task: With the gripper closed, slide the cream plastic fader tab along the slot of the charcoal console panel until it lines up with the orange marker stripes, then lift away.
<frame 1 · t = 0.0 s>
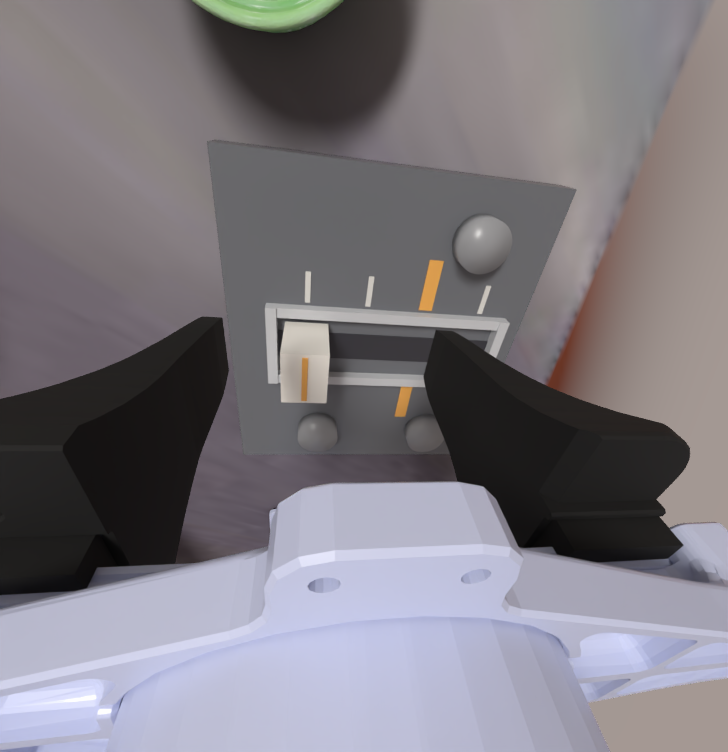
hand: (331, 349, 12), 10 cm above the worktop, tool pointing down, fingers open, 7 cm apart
console panel: (374, 336, 24), on the worktop
fader tab: (305, 362, 20), point 3 cm above the worktop, slide at 0.0 cm
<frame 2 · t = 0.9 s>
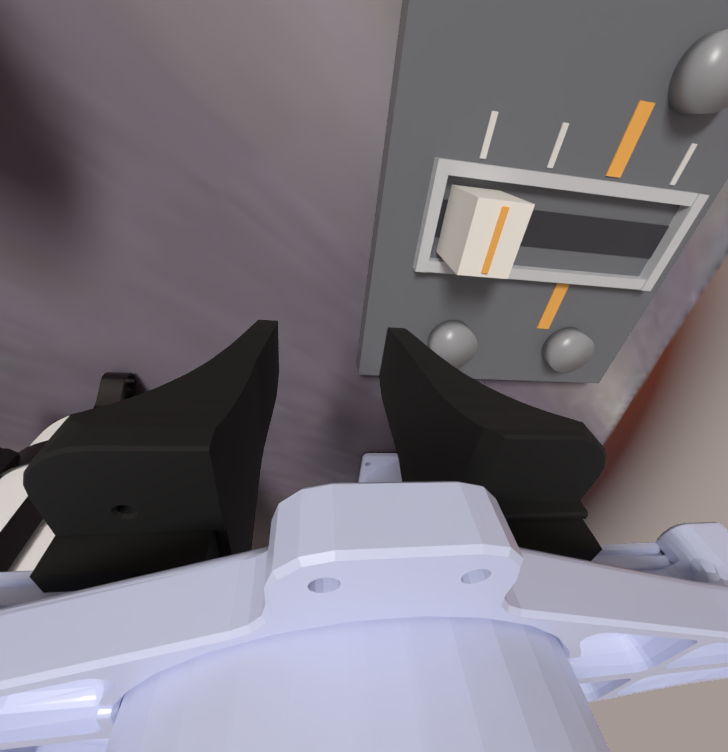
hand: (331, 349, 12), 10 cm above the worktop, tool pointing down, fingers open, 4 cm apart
coffee press: (129, 439, 27), on the worktop
console panel: (530, 223, 20), on the worktop
fader tab: (479, 231, 17), point 3 cm above the worktop, slide at 0.0 cm
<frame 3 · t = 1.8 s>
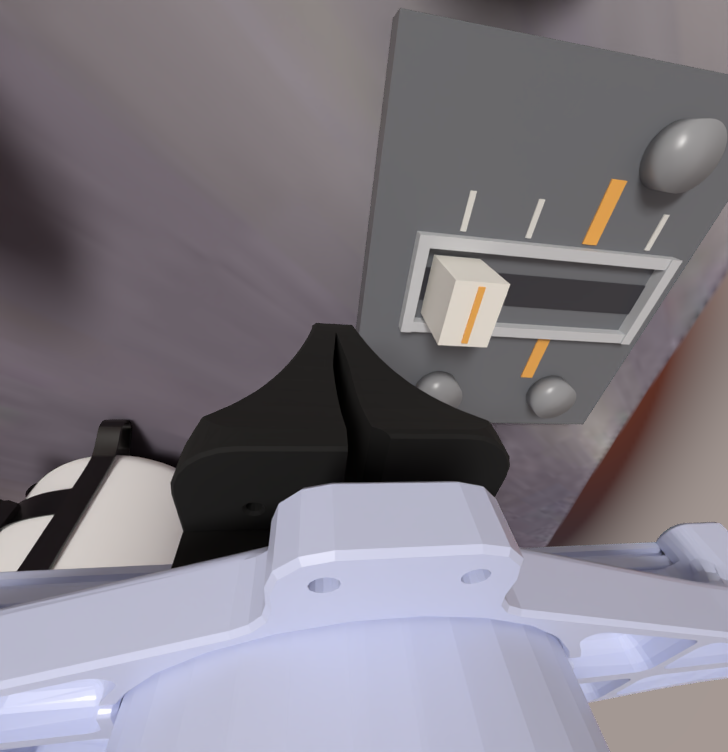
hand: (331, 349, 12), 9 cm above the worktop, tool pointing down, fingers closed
coffee press: (126, 478, 27), on the worktop
console panel: (512, 281, 21), on the worktop
fader tab: (460, 300, 17), point 3 cm above the worktop, slide at 0.0 cm
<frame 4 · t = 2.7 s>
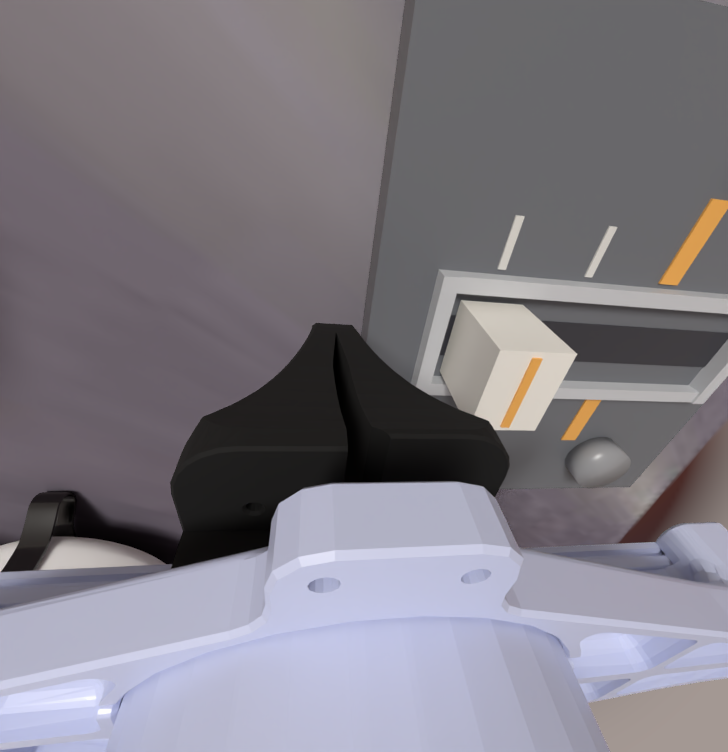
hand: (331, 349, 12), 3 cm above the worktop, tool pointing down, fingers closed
coffee press: (77, 549, 23), on the worktop
console panel: (557, 325, 16), on the worktop
fader tab: (497, 364, 13), point 3 cm above the worktop, slide at 0.0 cm
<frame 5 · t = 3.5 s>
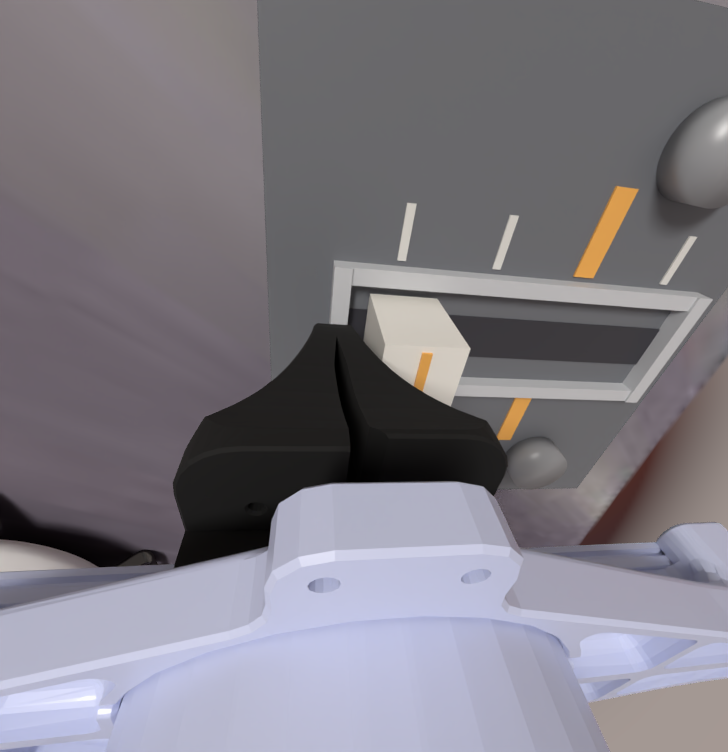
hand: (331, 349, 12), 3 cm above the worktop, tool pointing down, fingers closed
coffee press: (11, 552, 22), on the worktop
console panel: (481, 321, 16), on the worktop
fader tab: (405, 360, 12), point 3 cm above the worktop, slide at 0.3 cm, touching gripper
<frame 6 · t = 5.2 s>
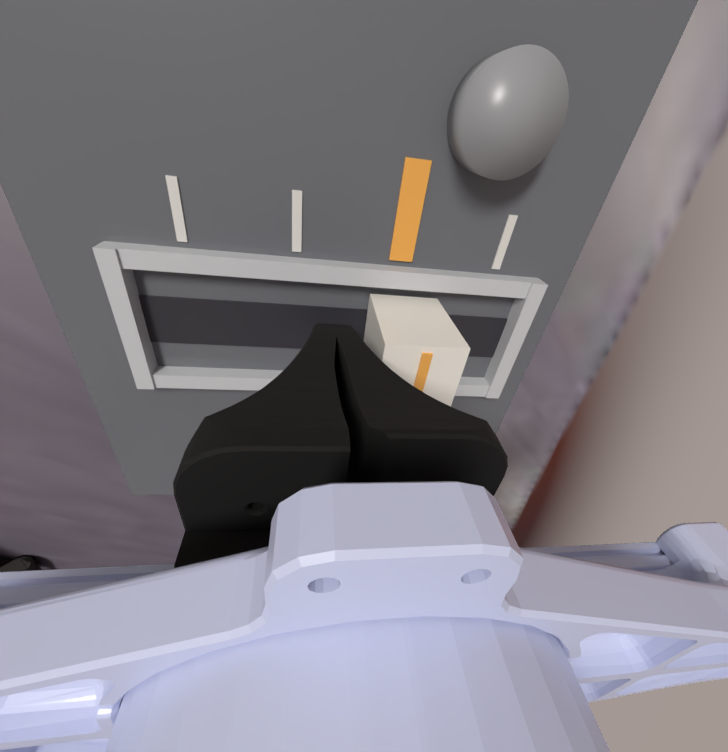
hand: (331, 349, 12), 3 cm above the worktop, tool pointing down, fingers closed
console panel: (322, 311, 15), on the worktop
fader tab: (405, 360, 12), point 3 cm above the worktop, slide at 7.3 cm, touching gripper
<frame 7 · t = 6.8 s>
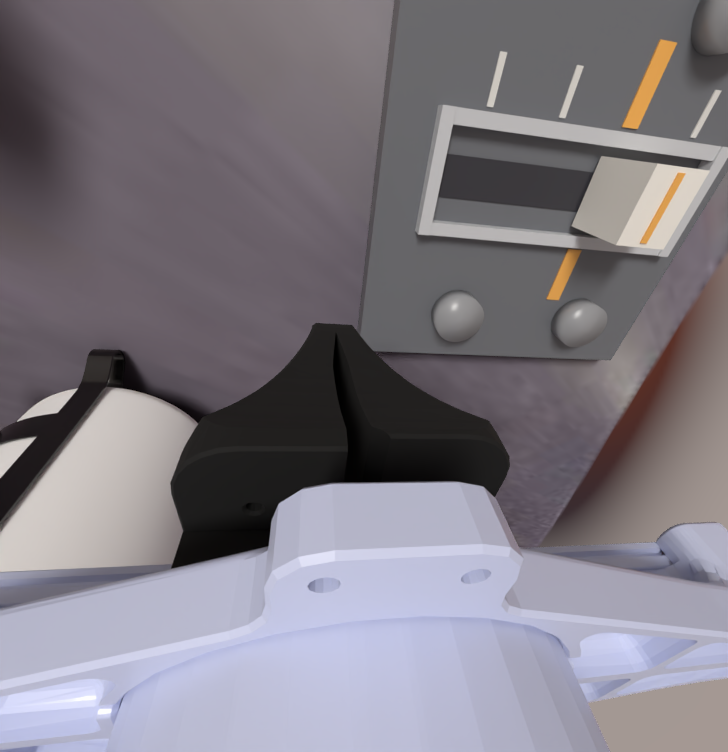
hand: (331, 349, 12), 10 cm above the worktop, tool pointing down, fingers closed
coffee press: (121, 422, 26), on the worktop
console panel: (540, 184, 19), on the worktop
fader tab: (632, 202, 17), point 3 cm above the worktop, slide at 7.3 cm
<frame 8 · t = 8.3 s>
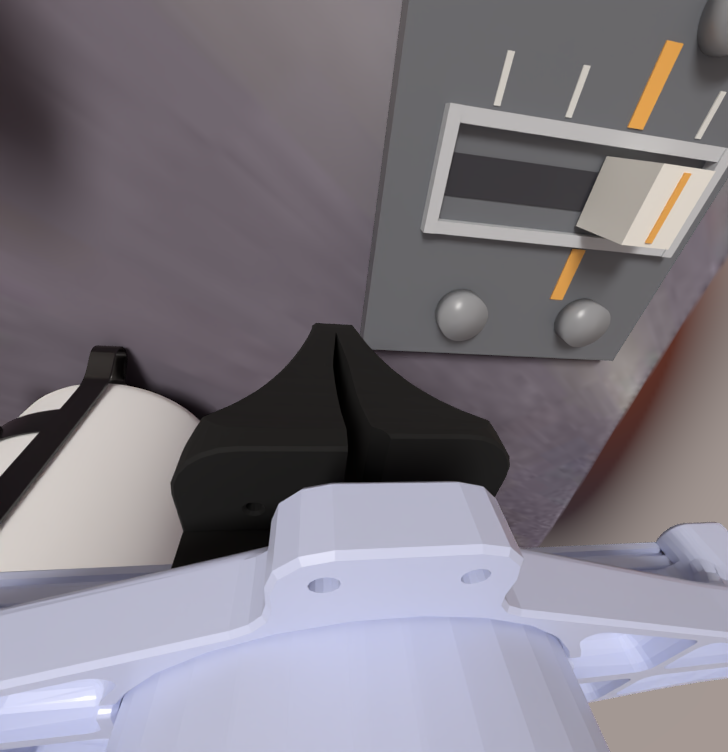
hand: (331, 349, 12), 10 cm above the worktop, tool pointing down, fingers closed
coffee press: (122, 420, 26), on the worktop
console panel: (545, 184, 19), on the worktop
fader tab: (637, 202, 17), point 3 cm above the worktop, slide at 7.3 cm
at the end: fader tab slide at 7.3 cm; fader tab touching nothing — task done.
